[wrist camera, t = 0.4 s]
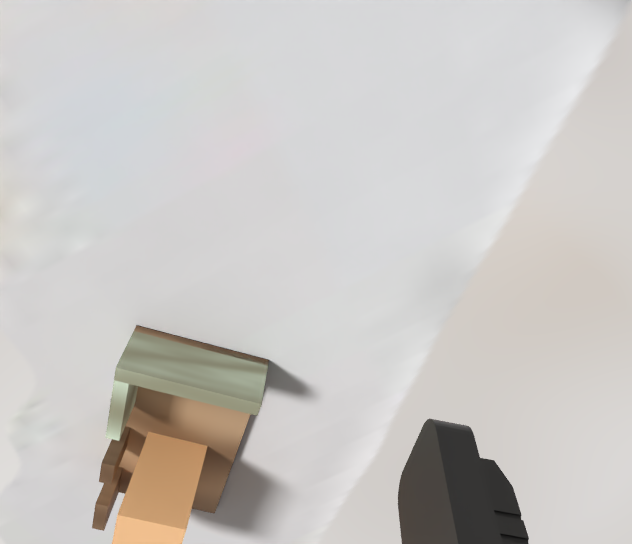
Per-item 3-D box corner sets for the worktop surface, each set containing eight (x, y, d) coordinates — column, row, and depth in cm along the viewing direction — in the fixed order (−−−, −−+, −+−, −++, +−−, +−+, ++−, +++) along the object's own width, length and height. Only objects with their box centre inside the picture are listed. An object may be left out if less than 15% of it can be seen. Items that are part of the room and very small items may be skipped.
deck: (136, 325, 33) (115, 367, 30) (269, 360, 34) (261, 404, 31) (110, 483, 41) (92, 528, 39) (215, 507, 42) (206, 552, 40)
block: (148, 431, 37) (117, 514, 32) (207, 445, 38) (186, 529, 33) (135, 491, 41) (106, 574, 36) (189, 503, 41) (167, 587, 37)
